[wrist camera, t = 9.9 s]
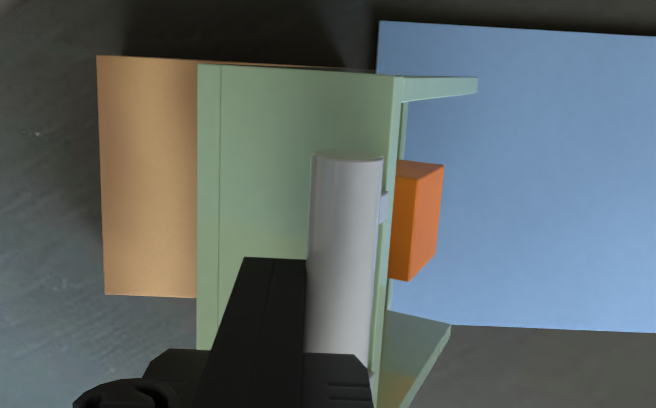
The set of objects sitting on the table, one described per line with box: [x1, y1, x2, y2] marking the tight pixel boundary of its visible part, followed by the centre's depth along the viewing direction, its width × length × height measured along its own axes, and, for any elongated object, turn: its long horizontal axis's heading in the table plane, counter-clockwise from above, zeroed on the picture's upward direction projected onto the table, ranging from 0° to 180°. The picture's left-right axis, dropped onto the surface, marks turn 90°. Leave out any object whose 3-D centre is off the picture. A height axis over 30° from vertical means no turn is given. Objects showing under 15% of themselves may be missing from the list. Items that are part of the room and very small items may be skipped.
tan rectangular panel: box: [96, 55, 350, 298], centre depth 30 cm, size 11×11×4 cm
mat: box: [375, 20, 656, 333], centre depth 32 cm, size 27×16×1 cm, turn 87°
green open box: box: [196, 63, 478, 408], centre depth 20 cm, size 14×11×6 cm
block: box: [387, 159, 444, 282], centre depth 24 cm, size 4×4×4 cm
